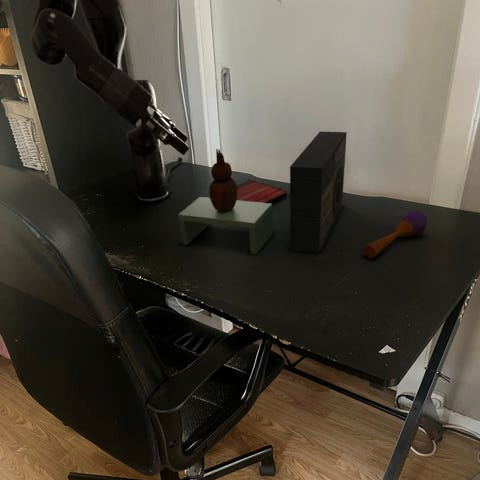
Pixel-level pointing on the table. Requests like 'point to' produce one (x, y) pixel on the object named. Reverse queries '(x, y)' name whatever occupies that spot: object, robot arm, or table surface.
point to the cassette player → (316, 191)
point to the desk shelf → (228, 220)
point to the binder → (258, 192)
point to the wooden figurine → (222, 185)
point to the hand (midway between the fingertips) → (186, 146)
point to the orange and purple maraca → (398, 232)
